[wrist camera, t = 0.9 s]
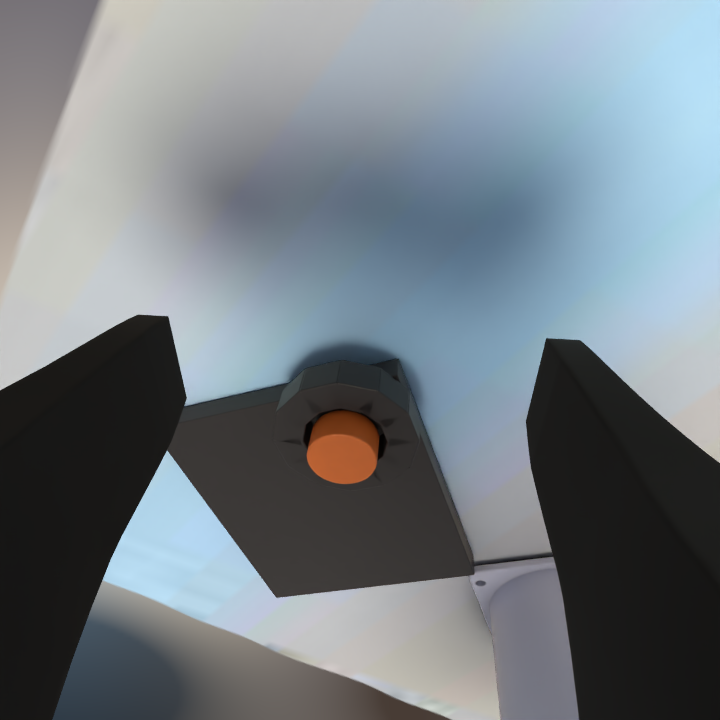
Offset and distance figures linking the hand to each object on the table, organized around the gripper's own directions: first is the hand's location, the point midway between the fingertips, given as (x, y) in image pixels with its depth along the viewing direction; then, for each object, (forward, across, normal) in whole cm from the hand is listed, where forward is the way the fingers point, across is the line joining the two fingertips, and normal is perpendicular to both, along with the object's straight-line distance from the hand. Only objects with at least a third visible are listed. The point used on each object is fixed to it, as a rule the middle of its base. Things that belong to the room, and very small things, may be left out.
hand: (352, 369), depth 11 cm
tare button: (+7, +1, +8) cm, 11 cm away
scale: (+9, +2, +14) cm, 17 cm away
